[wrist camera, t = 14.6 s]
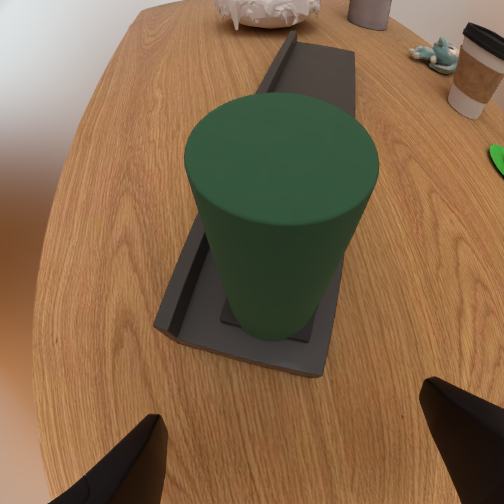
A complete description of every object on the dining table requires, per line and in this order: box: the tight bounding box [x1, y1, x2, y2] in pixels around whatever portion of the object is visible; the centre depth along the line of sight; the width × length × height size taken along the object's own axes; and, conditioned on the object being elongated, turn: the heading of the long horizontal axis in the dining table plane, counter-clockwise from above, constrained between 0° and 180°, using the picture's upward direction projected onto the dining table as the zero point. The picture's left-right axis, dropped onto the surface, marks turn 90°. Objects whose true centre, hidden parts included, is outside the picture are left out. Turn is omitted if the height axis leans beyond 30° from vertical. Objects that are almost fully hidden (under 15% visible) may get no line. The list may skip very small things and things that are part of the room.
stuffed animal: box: [409, 38, 459, 74], centre depth 38 cm, size 11×7×12 cm
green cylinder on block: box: [184, 93, 379, 343], centre depth 14 cm, size 11×5×12 cm, turn 165°
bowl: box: [214, 0, 320, 30], centre depth 43 cm, size 21×20×10 cm
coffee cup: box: [448, 23, 504, 120], centre depth 27 cm, size 8×8×15 cm
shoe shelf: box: [153, 31, 355, 378], centre depth 27 cm, size 44×10×4 cm, turn 165°
